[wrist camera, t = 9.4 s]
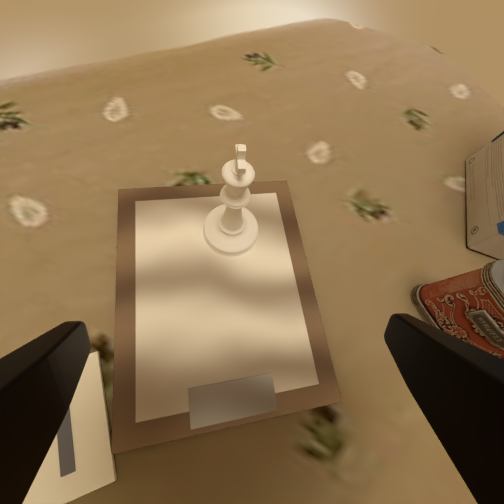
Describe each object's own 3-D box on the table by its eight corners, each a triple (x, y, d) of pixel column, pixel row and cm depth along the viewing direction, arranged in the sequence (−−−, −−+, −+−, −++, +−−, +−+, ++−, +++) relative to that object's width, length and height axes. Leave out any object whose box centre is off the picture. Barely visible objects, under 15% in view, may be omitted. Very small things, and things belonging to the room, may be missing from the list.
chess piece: (204, 258, 21) (195, 187, 12) (202, 207, 23) (193, 111, 14) (261, 254, 22) (294, 186, 13) (254, 206, 24) (280, 115, 14)
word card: (117, 478, 16) (114, 481, 16) (27, 518, 15) (21, 523, 14) (99, 351, 18) (96, 351, 18) (20, 377, 17) (16, 377, 17)
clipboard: (337, 400, 19) (344, 403, 18) (114, 451, 16) (108, 457, 15) (285, 184, 26) (288, 177, 25) (120, 193, 23) (116, 185, 22)
